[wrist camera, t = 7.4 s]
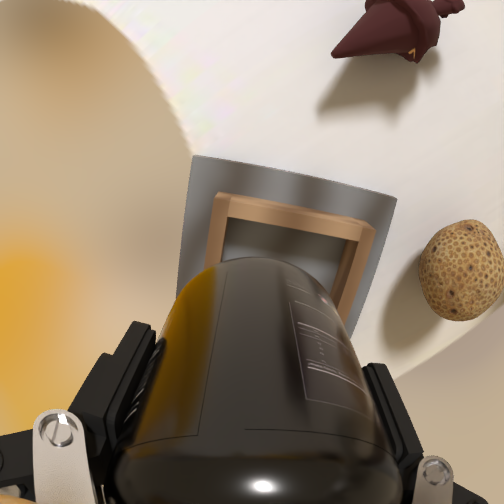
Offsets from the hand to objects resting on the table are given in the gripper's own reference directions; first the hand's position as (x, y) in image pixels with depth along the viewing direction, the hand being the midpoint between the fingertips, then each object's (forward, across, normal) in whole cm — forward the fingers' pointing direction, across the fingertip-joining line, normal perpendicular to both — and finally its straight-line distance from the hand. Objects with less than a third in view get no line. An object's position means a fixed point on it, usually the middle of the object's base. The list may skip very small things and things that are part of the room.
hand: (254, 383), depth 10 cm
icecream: (+20, -8, -20) cm, 29 cm away
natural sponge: (+20, -19, -2) cm, 27 cm away
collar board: (+19, -3, +4) cm, 20 cm away
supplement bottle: (+4, 0, 0) cm, 4 cm away
